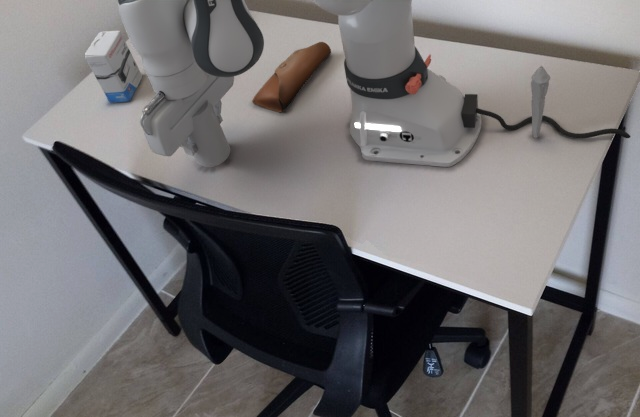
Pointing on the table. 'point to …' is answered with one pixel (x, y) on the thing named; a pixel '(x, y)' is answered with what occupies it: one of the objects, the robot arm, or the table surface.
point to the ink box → (113, 66)
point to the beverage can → (208, 138)
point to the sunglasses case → (291, 77)
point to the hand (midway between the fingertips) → (205, 137)
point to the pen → (538, 98)
